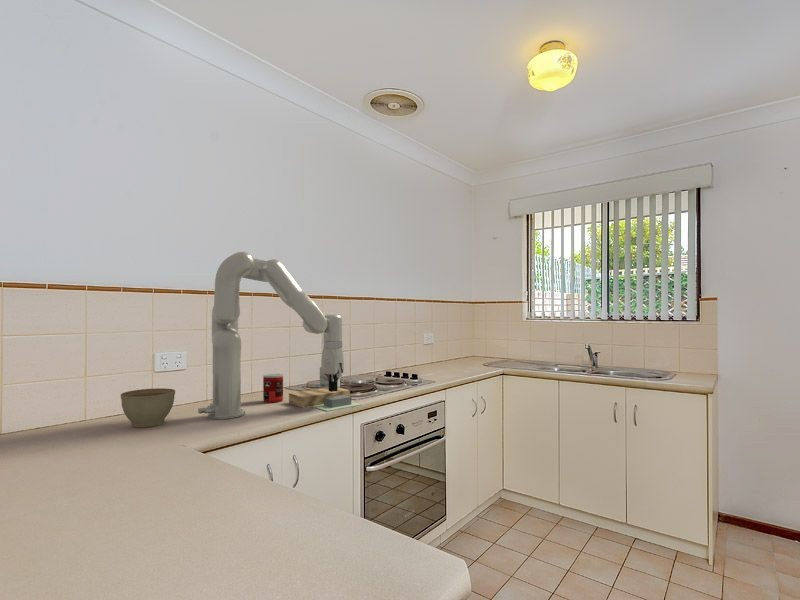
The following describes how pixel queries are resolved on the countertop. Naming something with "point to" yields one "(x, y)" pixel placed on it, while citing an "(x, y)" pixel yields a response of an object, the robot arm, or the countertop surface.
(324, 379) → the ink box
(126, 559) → the countertop surface
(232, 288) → the robot arm
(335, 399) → the gray rectangular block
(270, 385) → the canned food
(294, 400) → the oak block
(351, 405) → the sage mat
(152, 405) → the planter bowl
